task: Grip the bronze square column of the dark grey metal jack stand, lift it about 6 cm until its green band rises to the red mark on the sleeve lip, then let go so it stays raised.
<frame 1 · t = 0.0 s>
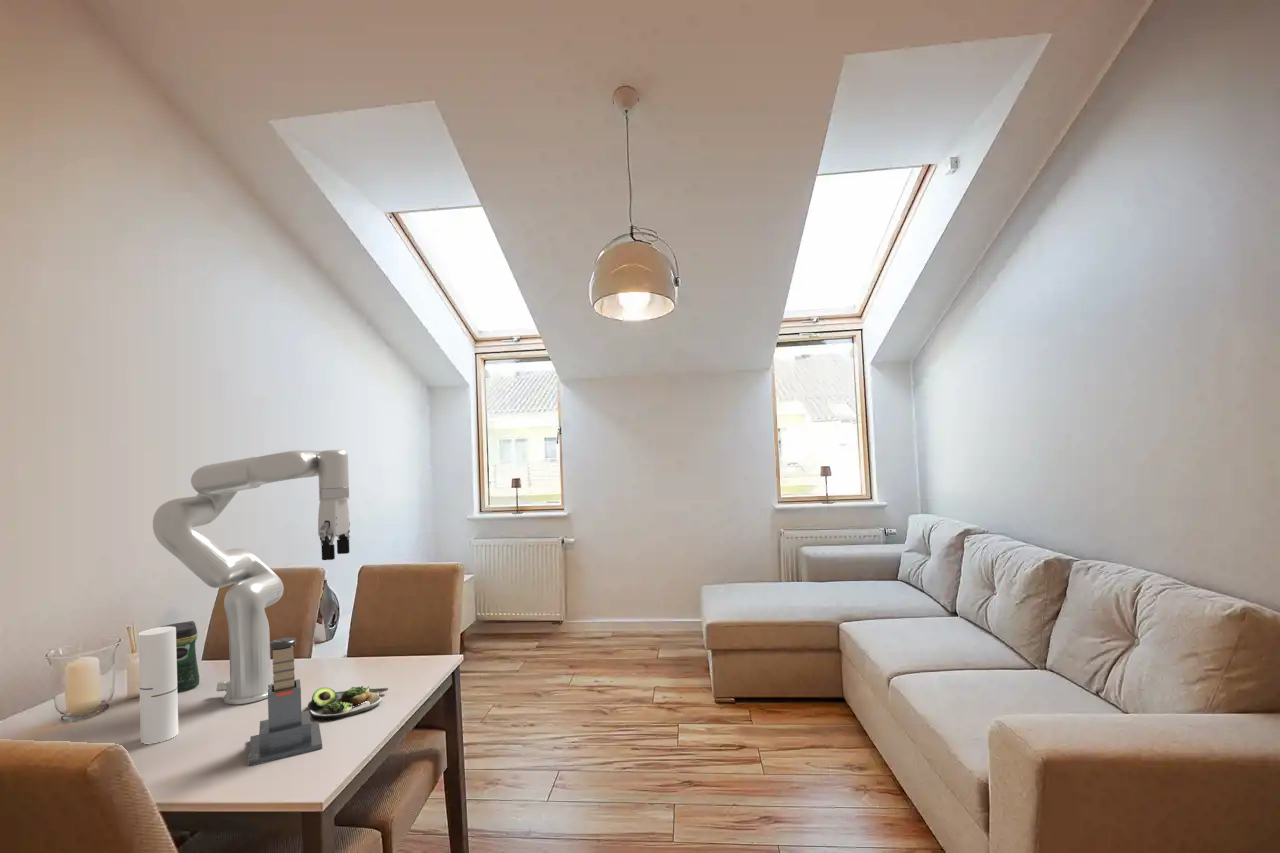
hand: (336, 556, 179), 37 cm above the table, tool pointing down, fingers open, 9 cm apart
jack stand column: (284, 689, 147), point 12 cm above the table, slide at 0.0 cm
jack stand: (285, 744, 146), on the table
coffee jar: (179, 689, 185), on the table
salad plate: (342, 708, 168), on the table
cylindrical container: (159, 738, 153), on the table
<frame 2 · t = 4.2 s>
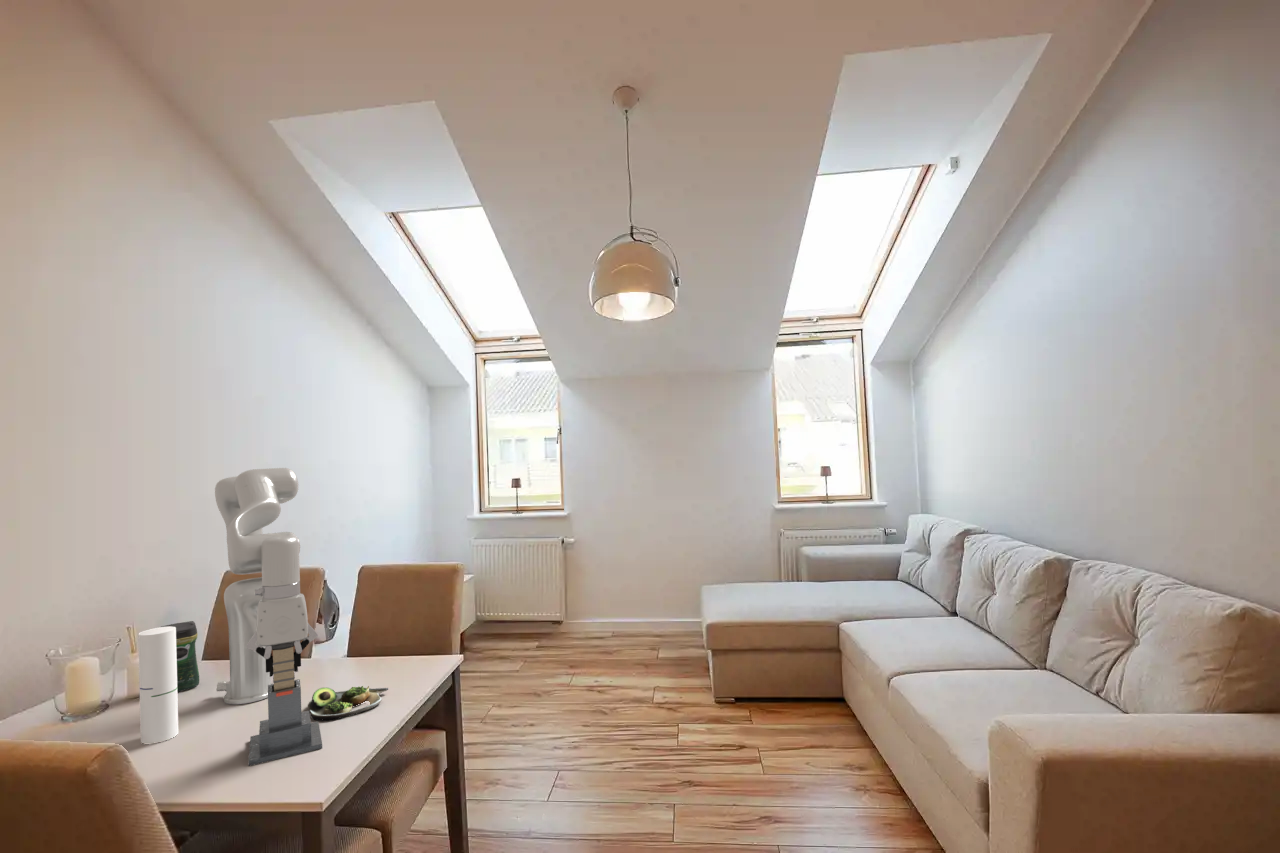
hand: (283, 671, 147), 16 cm above the table, tool pointing down, fingers closed on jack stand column, 4 cm apart
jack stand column: (284, 689, 147), point 12 cm above the table, slide at 0.0 cm, touching gripper
everything else where it was.
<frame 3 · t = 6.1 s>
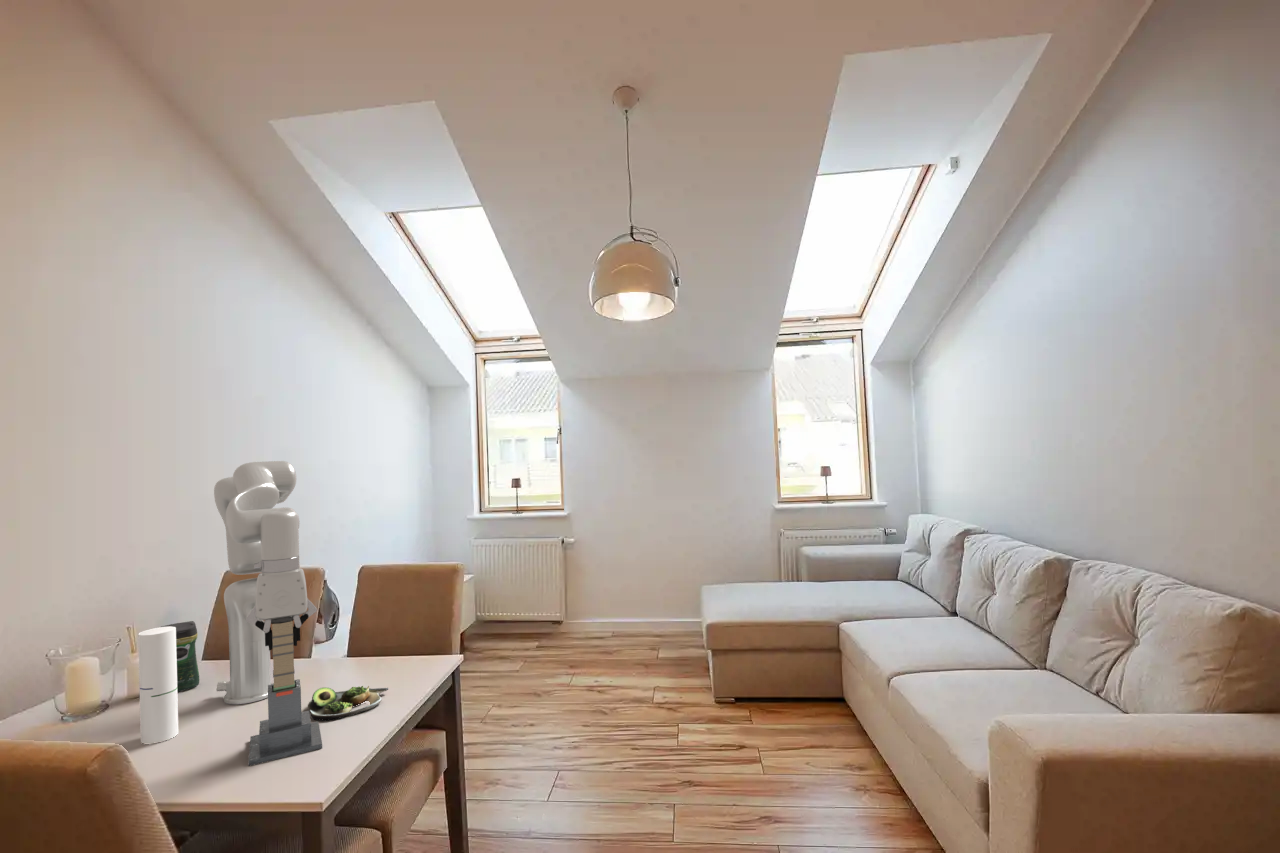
hand: (283, 645, 147), 22 cm above the table, tool pointing down, fingers closed on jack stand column, 4 cm apart
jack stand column: (283, 663, 147), point 18 cm above the table, slide at 5.8 cm, touching gripper
everything else where it was.
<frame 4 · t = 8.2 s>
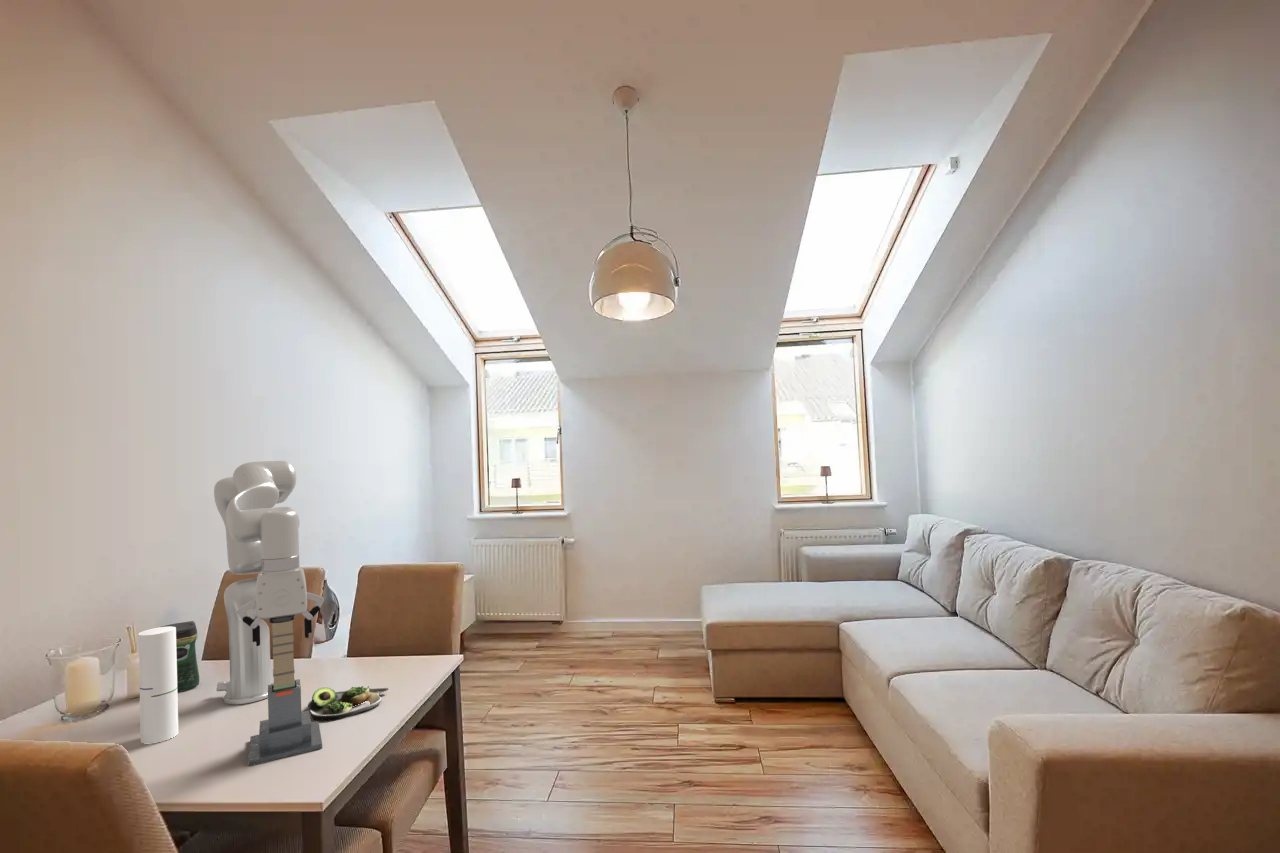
hand: (282, 640, 147), 23 cm above the table, tool pointing down, fingers open, 9 cm apart
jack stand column: (283, 663, 147), point 18 cm above the table, slide at 5.9 cm
everything else where it was.
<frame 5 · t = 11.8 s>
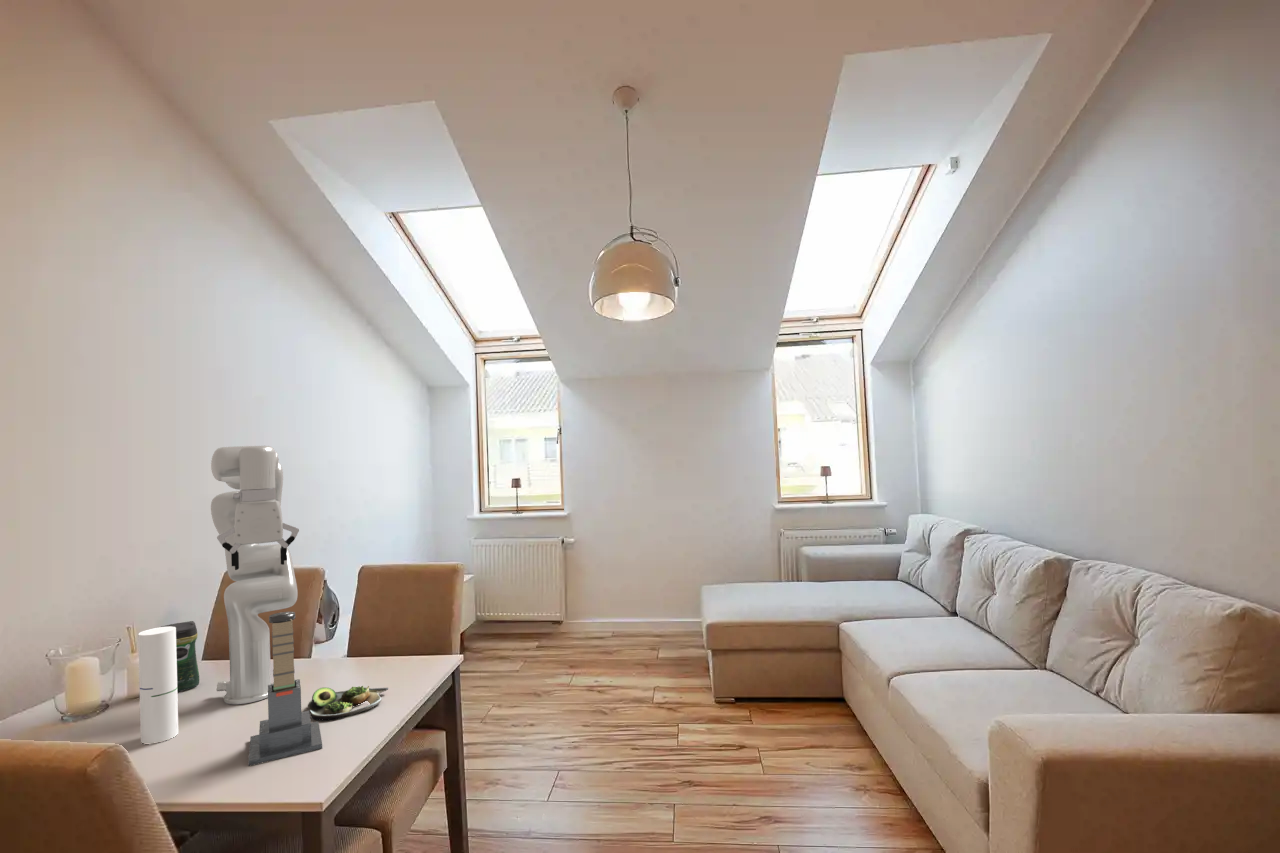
hand: (260, 566, 159), 38 cm above the table, tool pointing down, fingers open, 9 cm apart
nothing on the table moved.
at the end: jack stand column slide at 5.9 cm; the gripper is holding nothing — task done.
